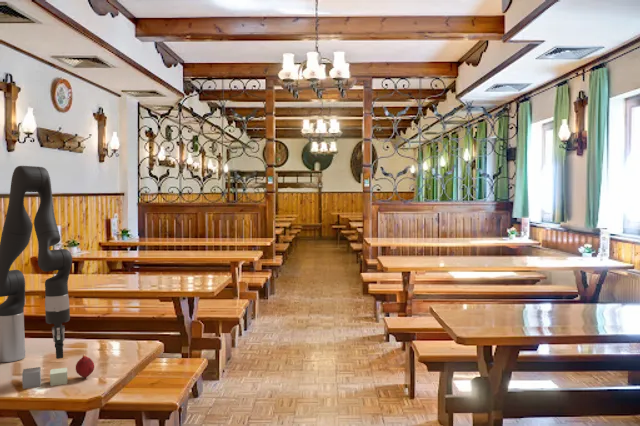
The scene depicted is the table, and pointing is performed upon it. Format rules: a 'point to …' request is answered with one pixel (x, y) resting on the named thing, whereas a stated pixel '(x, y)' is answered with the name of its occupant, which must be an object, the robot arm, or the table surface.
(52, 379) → the sage block
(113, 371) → the table surface
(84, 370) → the onion
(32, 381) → the slate block
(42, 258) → the robot arm
